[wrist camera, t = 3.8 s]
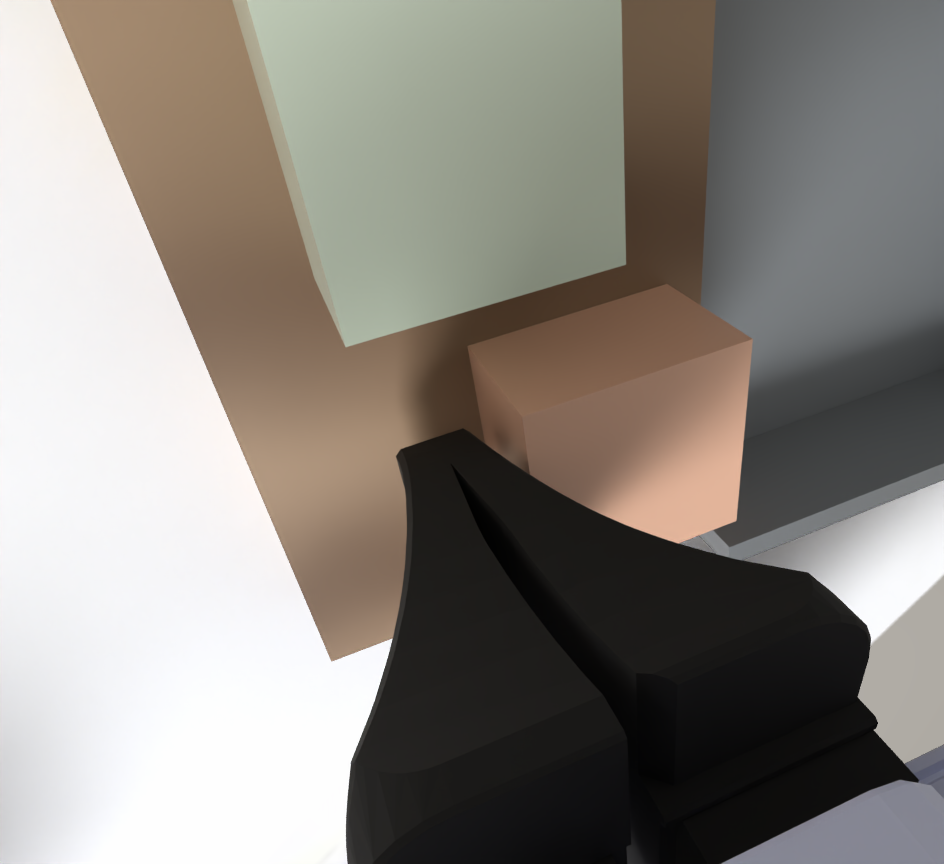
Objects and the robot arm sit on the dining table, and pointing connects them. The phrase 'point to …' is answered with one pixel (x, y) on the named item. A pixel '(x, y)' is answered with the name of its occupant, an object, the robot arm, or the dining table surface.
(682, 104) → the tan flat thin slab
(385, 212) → the tile sage
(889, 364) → the tray
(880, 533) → the dining table surface
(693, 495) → the tile terracotta
